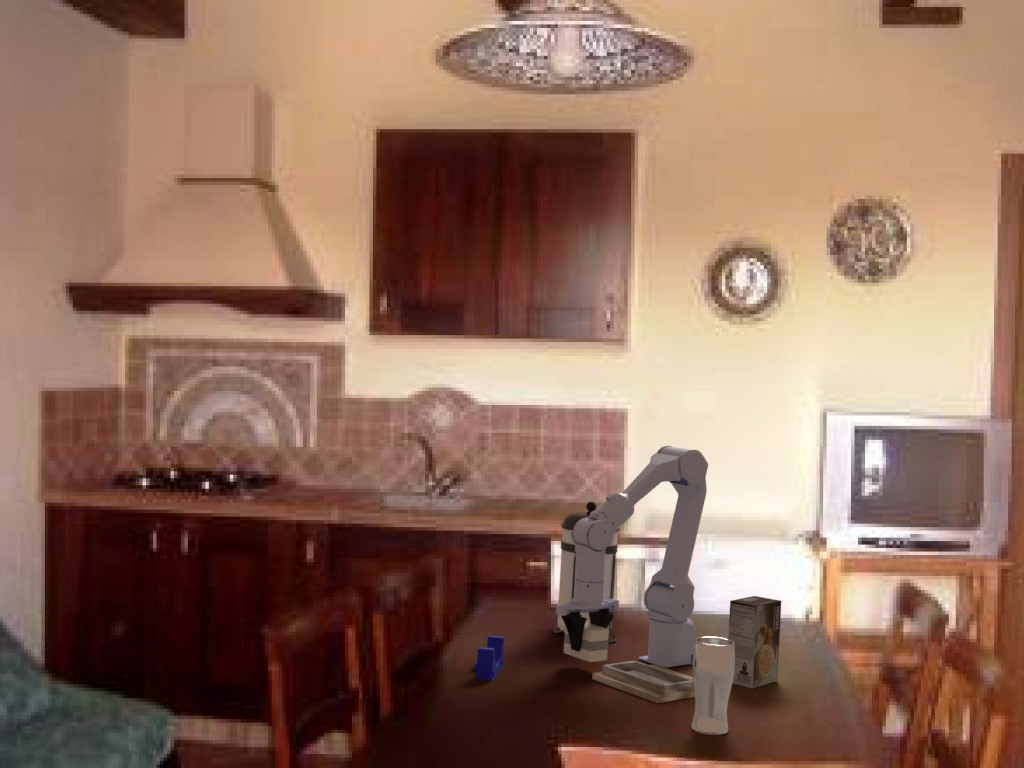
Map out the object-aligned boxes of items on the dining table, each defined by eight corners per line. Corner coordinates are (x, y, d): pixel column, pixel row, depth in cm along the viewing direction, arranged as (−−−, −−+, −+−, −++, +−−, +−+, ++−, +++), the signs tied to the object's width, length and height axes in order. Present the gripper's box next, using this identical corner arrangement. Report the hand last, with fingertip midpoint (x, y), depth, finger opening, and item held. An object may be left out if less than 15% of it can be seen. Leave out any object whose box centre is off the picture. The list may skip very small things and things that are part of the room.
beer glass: (684, 722, 212) (689, 635, 212) (724, 724, 213) (729, 636, 212) (694, 735, 205) (699, 645, 205) (735, 736, 206) (740, 646, 205)
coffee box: (749, 675, 248) (754, 594, 248) (778, 681, 244) (782, 600, 244) (724, 682, 241) (729, 599, 241) (753, 689, 237) (758, 605, 237)
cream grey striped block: (580, 650, 249) (582, 621, 249) (607, 659, 243) (609, 629, 242) (563, 652, 246) (565, 622, 246) (589, 662, 240) (591, 631, 240)
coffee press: (631, 636, 277) (639, 502, 277) (597, 648, 264) (605, 507, 263) (564, 624, 286) (571, 494, 286) (528, 635, 273) (535, 499, 272)
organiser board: (653, 670, 247) (655, 633, 247) (719, 692, 233) (721, 653, 233) (592, 679, 238) (594, 640, 238) (657, 703, 223) (659, 662, 223)
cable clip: (480, 664, 245) (481, 634, 245) (502, 666, 245) (504, 636, 244) (468, 679, 233) (470, 647, 233) (491, 681, 233) (493, 650, 233)
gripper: (603, 574, 252) (600, 640, 252) (547, 578, 243) (544, 648, 243) (627, 580, 246) (623, 648, 246) (570, 585, 237) (566, 656, 238)
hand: (585, 648), depth 244 cm, fingers closed on cream grey striped block, 4 cm apart
